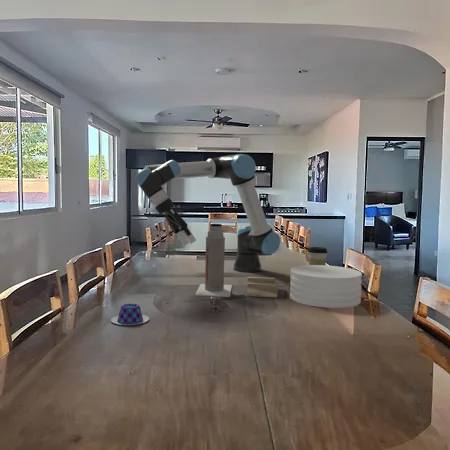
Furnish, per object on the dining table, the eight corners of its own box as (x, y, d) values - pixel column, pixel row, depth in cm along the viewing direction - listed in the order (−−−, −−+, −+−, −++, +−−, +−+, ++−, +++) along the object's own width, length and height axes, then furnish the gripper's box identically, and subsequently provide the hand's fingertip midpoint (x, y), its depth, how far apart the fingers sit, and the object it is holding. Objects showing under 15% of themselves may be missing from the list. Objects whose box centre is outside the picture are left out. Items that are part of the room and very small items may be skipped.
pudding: (137, 329, 130) (137, 312, 129) (103, 324, 133) (103, 308, 133) (155, 318, 141) (155, 303, 140) (124, 314, 145) (124, 299, 144)
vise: (247, 288, 188) (247, 276, 187) (281, 289, 187) (281, 278, 187) (247, 296, 173) (247, 284, 173) (283, 297, 172) (284, 285, 172)
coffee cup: (326, 280, 210) (328, 249, 209) (306, 278, 212) (307, 248, 210) (326, 276, 219) (327, 247, 218) (306, 275, 221) (307, 246, 220)
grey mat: (200, 285, 191) (200, 283, 191) (231, 286, 191) (231, 284, 191) (195, 295, 172) (195, 294, 172) (229, 297, 171) (229, 295, 171)
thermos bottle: (205, 291, 177) (206, 224, 175) (204, 287, 185) (205, 222, 183) (224, 291, 177) (225, 224, 175) (222, 287, 185) (224, 223, 183)
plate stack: (361, 294, 181) (363, 268, 180) (359, 311, 155) (360, 280, 154) (296, 288, 190) (297, 263, 189) (283, 303, 164) (284, 273, 163)
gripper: (150, 211, 192) (177, 249, 193) (158, 202, 168) (189, 246, 170) (164, 202, 194) (190, 240, 196) (174, 192, 170) (204, 235, 172)
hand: (190, 243), depth 183 cm, fingers open, 13 cm apart
